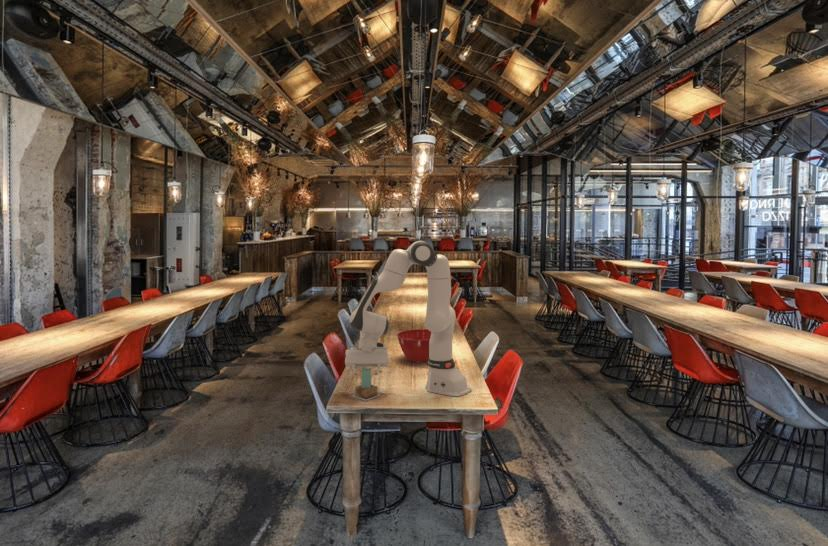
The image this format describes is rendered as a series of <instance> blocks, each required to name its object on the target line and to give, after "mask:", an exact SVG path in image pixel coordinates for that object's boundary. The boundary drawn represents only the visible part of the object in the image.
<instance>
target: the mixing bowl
mask: <svg viewBox="0 0 828 546" xmlns="http://www.w3.org/2000/svg"><path fill="white" fill-rule="evenodd" d="M396 336H397V339H398V343H399V346H400V349H401V351H402V353H403V354H404V357H405V358H406V359H407V360H408V361H410V362H412V363H416V364H428V358H429V341H430V337H431V331H429V330H428V329H427V328H417V329H408V330H403V331H399V332H398V333H397V334H396Z"/></svg>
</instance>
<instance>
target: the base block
mask: <svg viewBox="0 0 828 546" xmlns="http://www.w3.org/2000/svg"><path fill="white" fill-rule="evenodd" d="M377 393H378V386H377V385H374V384H371V388H362V385H361V384H360V385H358V386H355V392H354V394H355V395H356V396H358V397H361V398H364V399H368V398H371V397H373V396H376V395H377Z"/></svg>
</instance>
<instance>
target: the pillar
mask: <svg viewBox="0 0 828 546" xmlns="http://www.w3.org/2000/svg"><path fill="white" fill-rule="evenodd" d="M361 368H362V369H361V371H360V373H361V374H360V375H361V379H360V380H361V384H360V385H362V388H371V385H372V368H371V367H370V368H369V367H368V368H366V367H361Z"/></svg>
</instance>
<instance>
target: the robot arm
mask: <svg viewBox="0 0 828 546" xmlns="http://www.w3.org/2000/svg"><path fill="white" fill-rule="evenodd" d="M414 264H415V265H418V266H424V267H425V269H426V272H427V273H426V278H427V280H426V281H427V300H426V301H427V302H426V311H425V313H426V314H425V319H424V325H425V329H428V330H429V331H431V337H430V341H429V358H428V363H427V365H428V374H427V380H426V385H425V388H426V392H430V393H434V394H440V395H445V396H450V397H454V398H455V397H461V395H462V396H465V395H467V394H469V393H471V392H472V391H471V390H473V388H472V386H469V385H468V382H467V378H466V376H465V374H463V373H462V372H461V371H460V370H459V369H458V367H456V364H457V363H458V362H457V360H455V361H454V358H453V341H454V339H453V338H454V332H455V321H456V311H455V309H454V308H453V307H452V306H450V303H451V296H452V281H451V279H452V277H451V269H450V263H449V259H448V257H446V255H444V254H440V253H438V254H437V253H436V251H435V249H434V248H433V246H432V245H431V244H430V243H428V242H427V241H424V240H417V241H414V242H412V243H411V244H410V245H408V246H407V247H406V248H405V249H401V248H397V249H392V251H391V252H390V254H389V256H388V258H387V260H386V262H385V264H384V268H383V270H382V271H381V273H380V274H379V275H378V276H376V277H374V278H372V280H371V281H370V282H369V284H368V286H367V288H366V289H365V291H364V293H363V295H362V296H361V298H360V300H359V302H358V304H356V305H357V306H355V308H354V309H353V311H352V313H351V315H350V316H349V319H348V322H349V325H350V327H351V328H352V329H353V330H354V331H359V338H360V339H359V340H358V347H349V348H347V349H345V354H344V355H345V359H344V365H345V366H346V367H347V368H348V367H349V368H351V367H352V370H353V375H355V376H358V372H359V371H358V369H356V368H357V367H358V368H360V367H361V368H366V367H368V368H369V367H370V368H371V367H373V368H374V367H377V368H376V369H375V370H374V375H375V376H379V372H380V370H381V369H382V367H383V368H387V367H389V364H390V360H389V353H388V348H387V345H386V343H382V342H379V341H378V340H379V338H382V337H383V336H385V335H386V334H387V333H388V331H389V327H390V325H389V324H390V322H389V319H388V317H387V316H385V315H383V314H380V313H375V312H372V311H368V310H367V309H368V307H369V306H370V304H371V302H372V300H373V299H374V297H375V295H376V294H379V293H381V292H393V291H396V290H398V289H399V288H401V287H402V286H403V285H404V282H405V280H406V277H407V274H408V271H409V269H410V268H411V266H413V265H414ZM470 391H471V392H470Z"/></svg>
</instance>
